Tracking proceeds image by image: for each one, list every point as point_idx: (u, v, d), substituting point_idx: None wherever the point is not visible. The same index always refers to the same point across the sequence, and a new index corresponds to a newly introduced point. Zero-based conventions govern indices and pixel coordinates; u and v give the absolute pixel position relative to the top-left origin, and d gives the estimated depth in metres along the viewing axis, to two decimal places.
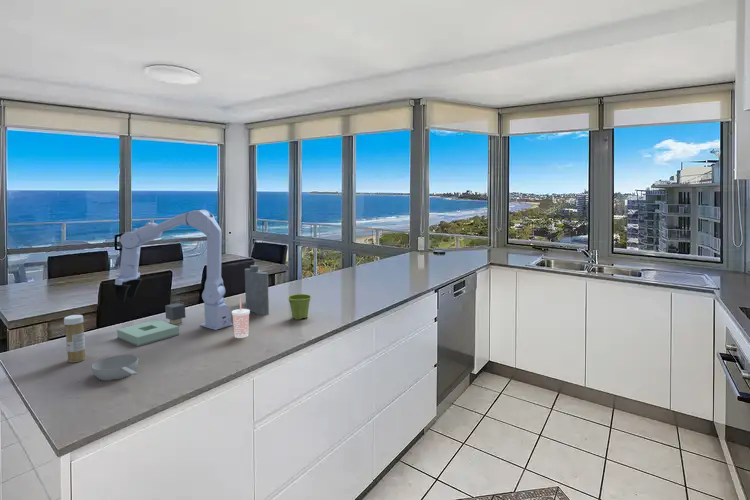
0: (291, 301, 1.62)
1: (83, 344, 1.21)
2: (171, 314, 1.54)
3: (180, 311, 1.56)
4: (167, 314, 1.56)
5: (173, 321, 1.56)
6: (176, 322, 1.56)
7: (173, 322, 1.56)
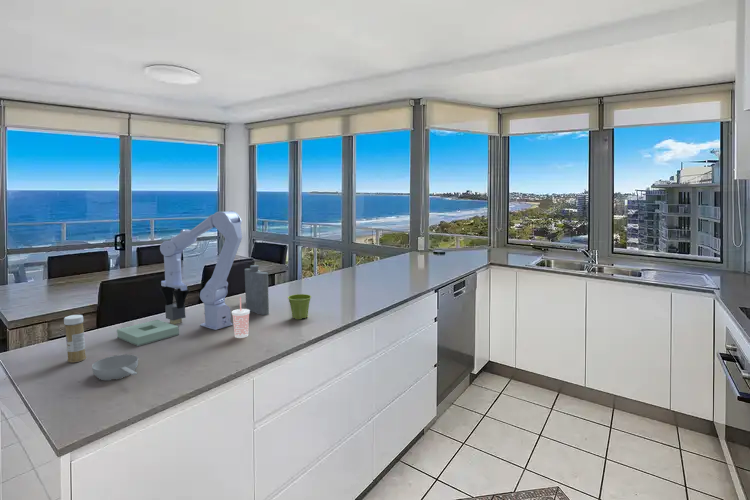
0: (291, 301, 1.62)
1: (83, 344, 1.21)
2: (171, 314, 1.54)
3: (180, 311, 1.56)
4: (167, 314, 1.56)
5: (173, 321, 1.56)
6: (176, 322, 1.56)
7: (173, 322, 1.56)
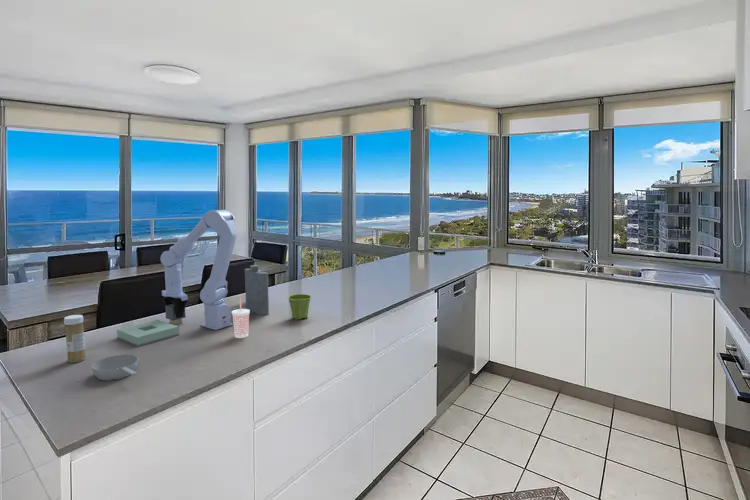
0: (291, 301, 1.62)
1: (83, 344, 1.21)
2: (171, 314, 1.54)
3: None
4: (167, 314, 1.56)
5: (173, 321, 1.56)
6: (176, 322, 1.56)
7: (173, 322, 1.56)
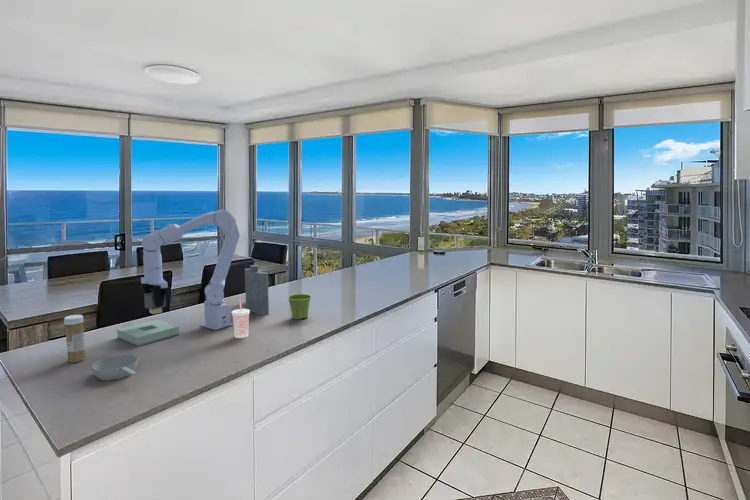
0: (291, 301, 1.62)
1: (83, 344, 1.21)
2: (150, 303, 1.42)
3: None
4: (146, 303, 1.44)
5: (152, 310, 1.44)
6: (156, 312, 1.44)
7: (152, 312, 1.44)
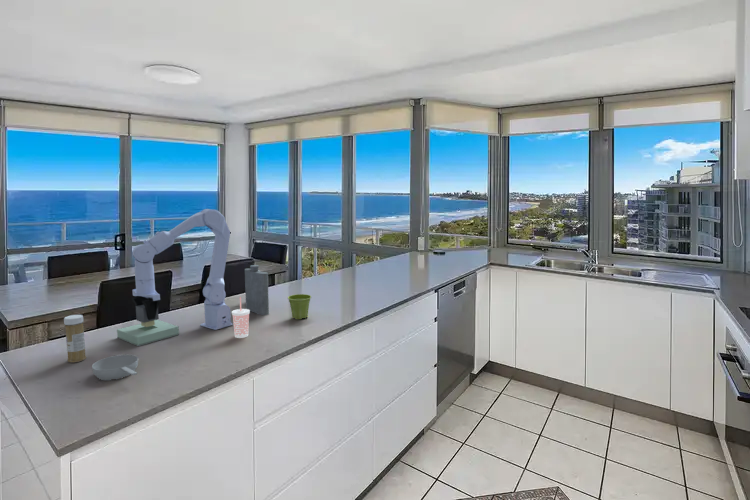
0: (291, 301, 1.62)
1: (83, 344, 1.21)
2: (142, 316, 1.38)
3: None
4: (138, 315, 1.40)
5: (144, 323, 1.40)
6: (148, 324, 1.40)
7: (144, 324, 1.40)
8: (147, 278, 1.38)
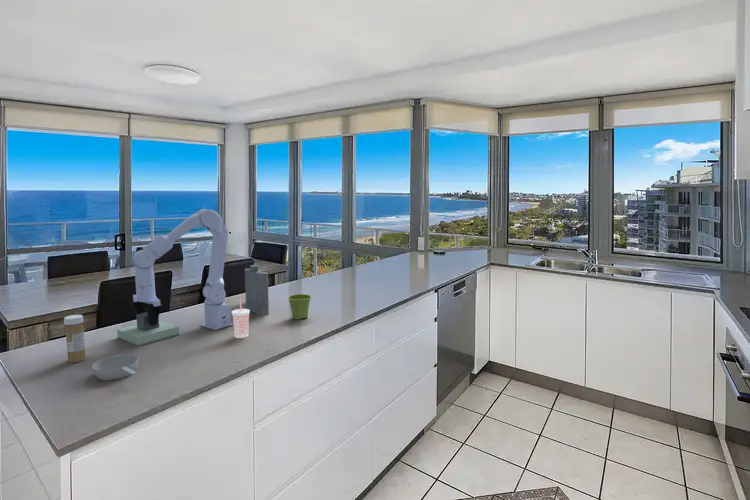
0: (291, 301, 1.62)
1: (83, 344, 1.21)
2: (142, 324, 1.39)
3: None
4: (139, 324, 1.40)
5: None
6: None
7: None
8: (147, 284, 1.38)
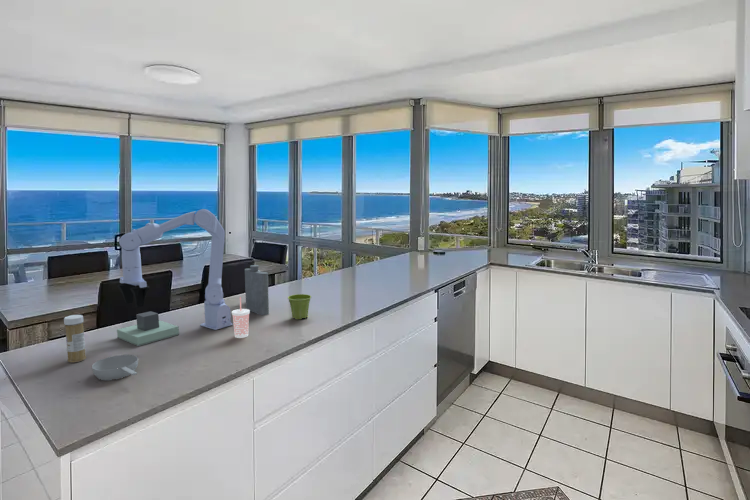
0: (291, 301, 1.62)
1: (83, 344, 1.21)
2: (142, 324, 1.39)
3: (152, 320, 1.41)
4: (139, 324, 1.40)
5: None
6: None
7: None
8: (132, 266, 1.40)
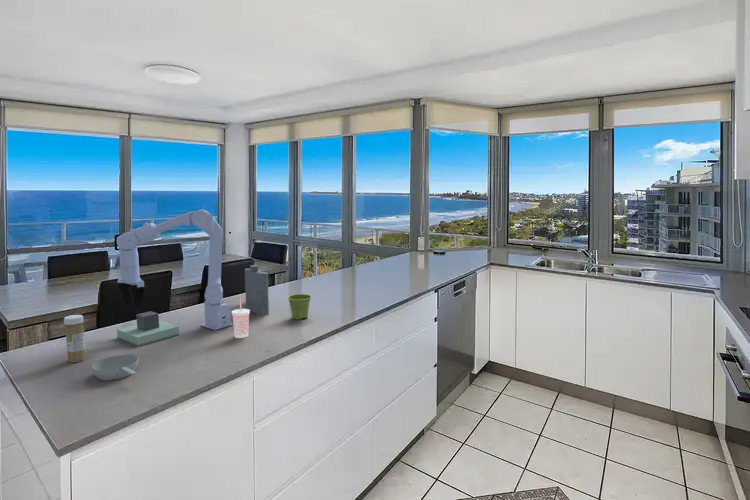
0: (291, 301, 1.62)
1: (83, 344, 1.21)
2: (142, 324, 1.39)
3: (152, 320, 1.41)
4: (139, 324, 1.40)
5: None
6: None
7: None
8: (129, 265, 1.40)
